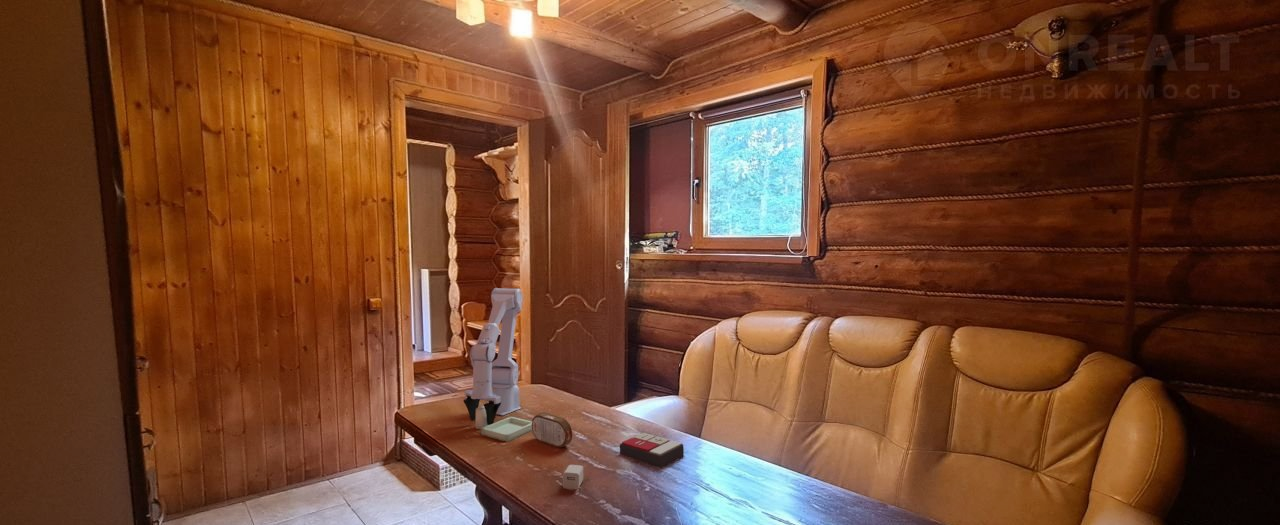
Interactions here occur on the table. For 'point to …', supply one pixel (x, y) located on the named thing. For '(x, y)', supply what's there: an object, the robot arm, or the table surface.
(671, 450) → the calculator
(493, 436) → the trough tray
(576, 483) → the usb wall charger
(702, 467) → the table surface
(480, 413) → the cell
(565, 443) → the tin
